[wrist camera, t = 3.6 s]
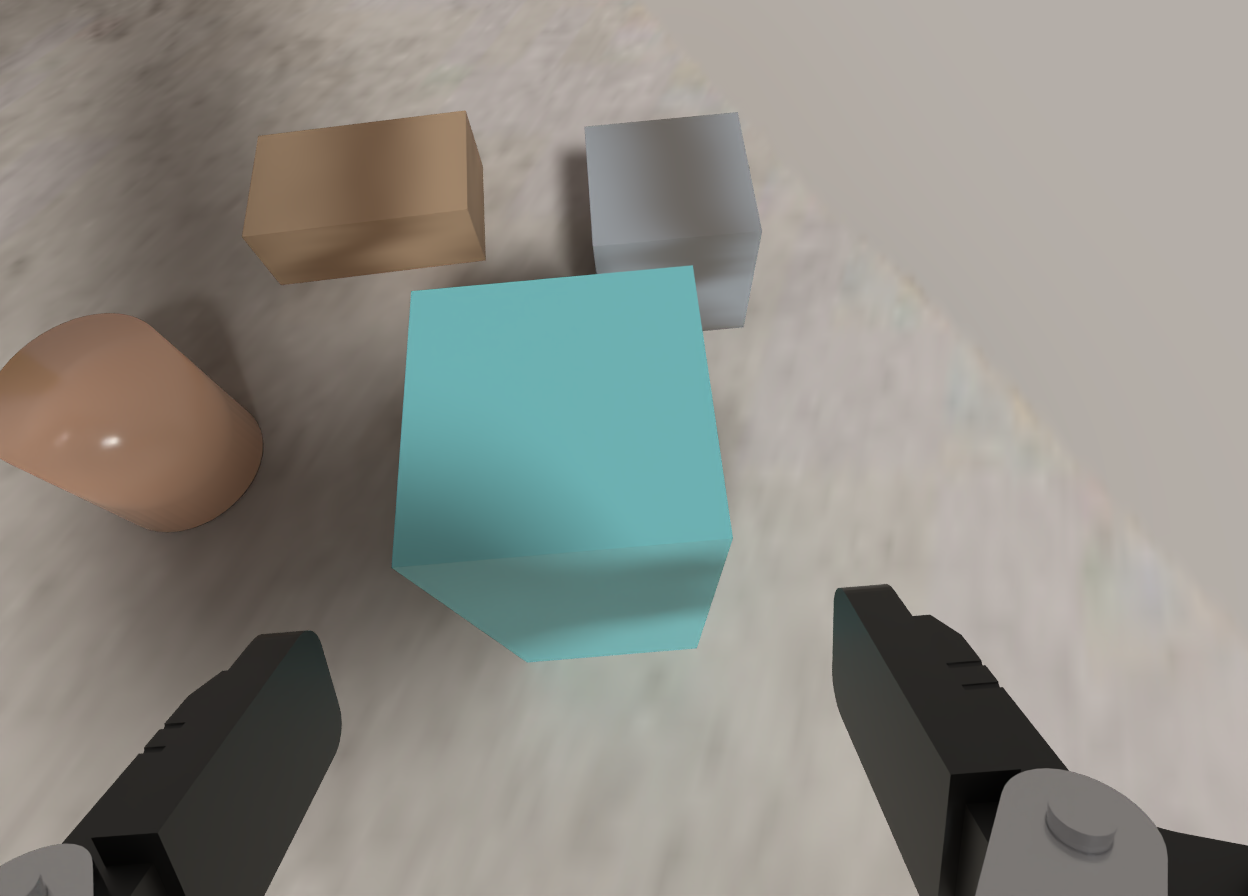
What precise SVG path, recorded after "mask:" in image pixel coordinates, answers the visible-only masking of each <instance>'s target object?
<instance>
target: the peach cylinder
mask: <svg viewBox="0 0 1248 896" xmlns="http://www.w3.org/2000/svg"><path fill="white" fill-rule="evenodd" d="M262 452H263V440H262V434H261V430H260V428H259V425H258V423H257V422H256V420H255V419H254V417H253V416H252V415H251V414H250V413H249V412H248V411H247V410H246V409H245V408H244V407H242V406H241V405H240V404H239V403H238V402H237V401H236V400H234V399H233V398H232V397H231V396H230V395H229V394H228V393H226V392H225V391H224V390H223V389H222V388H221V387H220V386H219V385H217V384H216V383H215V382H214V381H213V380H212V379H211V378H209V377H208V376H207V375H206V374H205V373H204V372H203V371H201V370H200V369H199V368H198V367H197V366H196V365H195V364H193V363H192V362H191V361H190V360H189V359H188V358H187V357H185V356H184V355H183V354H182V353H181V352H180V351H179V350H177V349H176V348H175V347H174V346H173V345H172V344H171V343H170V342H168V341H167V340H166V339H165V338H164V337H163V336H162V335H160V334H159V333H158V332H157V331H156V330H155V329H154V328H152V327H151V326H150V325H148V324H147V323H146V322H144V321H142V320H140V319H138V318H136V317H132V316H129V315H124V314H116V313H104V314H94V315H88V316H84V317H80V318H76V319H73V320H70V321H68V322H65V323H62V324H60V325H58V326H56V327H54V328H52V329H50V330H48V331H46V332H45V333H43V334H41V335H40V336H38V337H37V338H35V339H34V340H32V341H31V342H29V343H28V344H27V345H26V346H24V347H23V348H22V349H21V350H20V351H19V352H18V353H16V354H15V355H14V356H13V357H12V358H11V359H10V360H9V362H8V363H7V364H6V365H5V366H4V367H3V369H2V370H1V371H0V459H2V460H4V461H6V462H7V463H9V464H11V465H13V466H15V467H18V468H20V469H22V470H24V471H26V472H28V473H30V474H32V475H34V476H36V477H38V478H40V479H42V480H45V481H47V482H49V483H51V484H53V485H55V486H57V487H59V488H61V489H63V490H65V491H67V492H70V493H72V494H74V495H76V496H78V497H80V498H82V499H84V500H86V501H88V502H90V503H92V504H95V505H97V506H99V507H101V508H103V509H105V510H107V511H109V512H111V513H113V514H115V515H117V516H120V517H122V518H124V519H126V520H128V521H130V522H132V523H134V524H136V525H138V526H140V527H143V528H145V529H148V530H152V531H157V532H178V531H183V530H188V529H191V528H194V527H197V526H200V525H202V524H204V523H207V522H209V521H210V520H212V519H214V518H216V517H217V516H219V515H220V514H222V513H223V512H225V511H226V510H227V509H228V508H230V507H231V506H232V505H233V504H234V503H235V502H236V501H237V500H238V499H239V498H240V497H241V496H242V495H243V494H244V492H245V491H246V490H247V488H248V487H249V485H250V484H251V482H252V481H253V479H254V477H255V475H256V473H257V471H258V468H259V465H260V462H261V458H262Z"/></svg>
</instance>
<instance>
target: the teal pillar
mask: <svg viewBox="0 0 1248 896" xmlns="http://www.w3.org/2000/svg"><path fill="white" fill-rule="evenodd" d="M732 539H733V537H732V530H731V523H730V516H729V509H728V502H727V496H726V489H725V482H724V475H723V468H722V461H721V455H720V448H719V441H718V434H717V427H716V420H715V414H714V407H713V400H712V393H711V386H710V379H709V373H708V366H707V359H706V352H705V345H704V338H703V332H702V325H701V318H700V311H699V304H698V297H697V291H696V284H695V277H694V270H693V265H691V266H680V267H669V268H658V269H648V270H637V271H626V272H615V273H604V274H593V275H582V276H571V277H561V278H550V279H539V280H528V281H517V282H506V283H495V284H485V285H474V286H463V287H452V288H441V289H430V290H419V291H411V302H410V316H409V330H408V344H407V358H406V373H405V387H404V401H403V415H402V429H401V443H400V457H399V471H398V485H397V499H396V513H395V527H394V541H393V555H392V568H393V569H394V570H396V571H397V572H398V573H400V574H401V575H403V576H404V577H406V578H407V579H408V580H410V581H411V582H413V583H414V584H416V585H417V586H418V587H420V588H421V589H423V590H424V591H426V592H427V593H428V594H430V595H431V596H433V597H434V598H436V599H437V600H439V601H440V602H441V603H443V604H444V605H446V606H447V607H449V608H450V609H451V610H453V611H454V612H456V613H457V614H459V615H460V616H461V617H463V618H464V619H466V620H467V621H469V622H470V623H471V624H473V625H474V626H476V627H477V628H479V629H480V630H481V631H483V632H484V633H486V634H487V635H489V636H490V637H492V638H493V639H494V640H496V641H497V642H499V643H500V644H502V645H503V646H504V647H506V648H507V649H509V650H510V651H512V652H513V653H514V654H516V655H517V656H519V657H520V658H522V659H523V660H524V661H526V662H538V661H550V660H561V659H573V658H585V657H597V656H609V655H621V654H633V653H645V652H657V651H669V650H681V649H693V648H697V646H698V643H699V640H700V636H701V633H702V630H703V627H704V624H705V621H706V618H707V615H708V612H709V609H710V606H711V603H712V600H713V597H714V594H715V591H716V588H717V585H718V582H719V579H720V576H721V573H722V570H723V567H724V564H725V561H726V557H727V554H728V551H729V548H730V545H731V542H732Z"/></svg>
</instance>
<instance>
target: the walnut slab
mask: <svg viewBox="0 0 1248 896" xmlns="http://www.w3.org/2000/svg"><path fill="white" fill-rule="evenodd" d="M242 238H243V239H244V240H245V241H246V243H247V244H248V245H249V246H250V248H251V249H252V250H253V251H254V253H255V254H256V255H257V256H258V257H259V259H260V260H261V261H262V262H263V264H264V265H265V266H266V267H267V269H268V270H269V271H270V272H271V273H272V275H273V276H274V277H275V278H276V280H277V281H278V282H279V283H280V285H286V284H295V283H303V282H311V281H319V280H327V279H336V278H344V277H352V276H360V275H369V274H377V273H385V272H393V271H402V270H410V269H418V268H426V267H435V266H443V265H451V264H459V263H468V262H476V261H484V260H486V256H485V224H484V191H483V166H482V162H481V159H480V156H479V153H478V149H477V146H476V143H475V140H474V136H473V133H472V130H471V126H470V123H469V120H468V117H467V113H466V111H458V112H450V113H442V114H433V115H425V116H417V117H409V118H401V119H393V120H385V121H376V122H368V123H360V124H352V125H344V126H336V127H328V128H319V129H311V130H303V131H295V132H287V133H279V134H271V135H262V136H258V141H257V147H256V153H255V159H254V165H253V171H252V178H251V184H250V190H249V196H248V202H247V209H246V215H245V221H244V227H243V233H242Z"/></svg>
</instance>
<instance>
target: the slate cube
mask: <svg viewBox="0 0 1248 896" xmlns="http://www.w3.org/2000/svg"><path fill="white" fill-rule="evenodd" d="M585 140H586V154H587V169H588V183H589V197H590V212H591V226H592V241H593V251H594V258H595V266H596V273H597V274H604V273H615V272H626V271H637V270H648V269H658V268H669V267H680V266H691V265H693V270H694V277H695V284H696V291H697V297H698V304H699V311H700V318H701V325H702V331H707V330H718V329H729V328H740V327H744V322H745V317H746V311H747V306H748V301H749V296H750V291H751V285H752V280H753V275H754V270H755V265H756V259H757V254H758V249H759V244H760V239H761V233H762V229H761V224H760V219H759V214H758V209H757V204H756V199H755V195H754V190H753V185H752V180H751V175H750V170H749V165H748V160H747V156H746V151H745V146H744V141H743V136H742V131H741V126H740V122H739V117H738V112H735V113H724V114H714V115H703V116H693V117H682V118H672V119H661V120H651V121H640V122H630V123H619V124H609V125H598V126H588V127H585Z"/></svg>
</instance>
